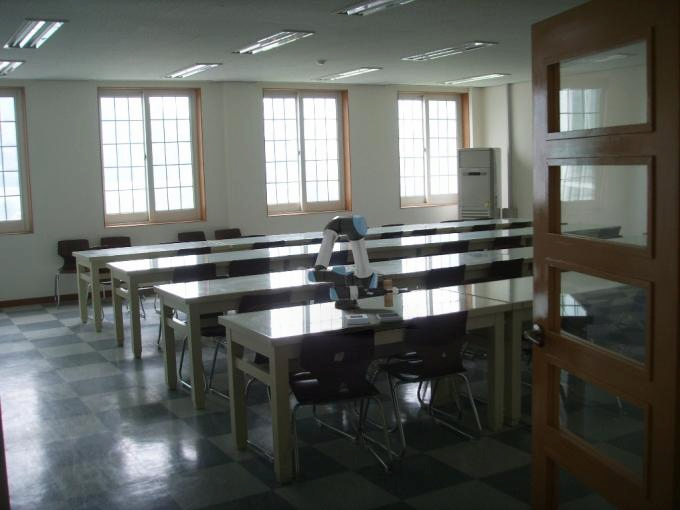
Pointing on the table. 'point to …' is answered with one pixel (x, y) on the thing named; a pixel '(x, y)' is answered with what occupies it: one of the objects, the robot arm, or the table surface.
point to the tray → (389, 317)
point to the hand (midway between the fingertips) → (397, 290)
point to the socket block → (356, 319)
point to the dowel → (389, 297)
